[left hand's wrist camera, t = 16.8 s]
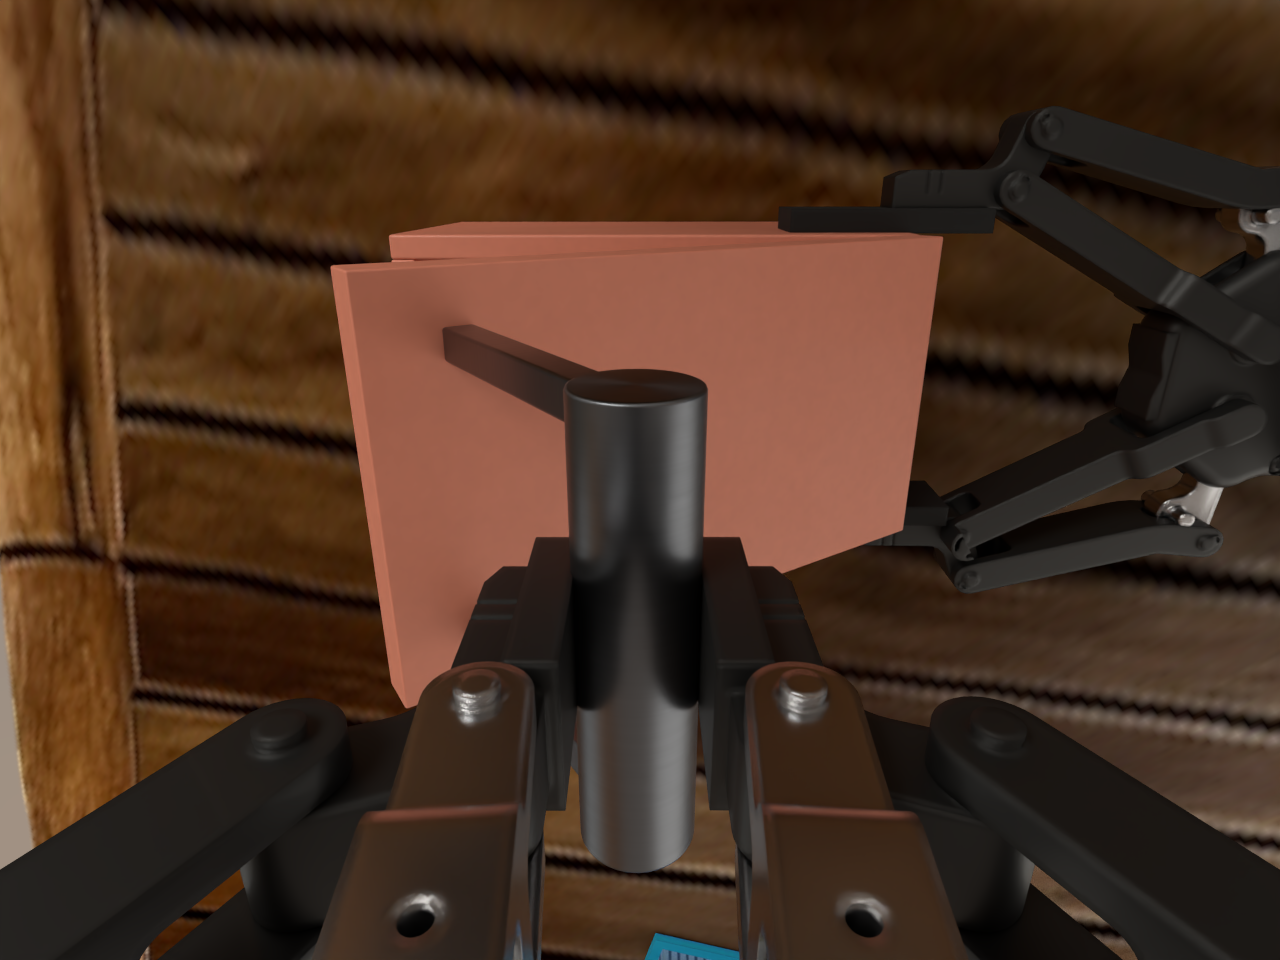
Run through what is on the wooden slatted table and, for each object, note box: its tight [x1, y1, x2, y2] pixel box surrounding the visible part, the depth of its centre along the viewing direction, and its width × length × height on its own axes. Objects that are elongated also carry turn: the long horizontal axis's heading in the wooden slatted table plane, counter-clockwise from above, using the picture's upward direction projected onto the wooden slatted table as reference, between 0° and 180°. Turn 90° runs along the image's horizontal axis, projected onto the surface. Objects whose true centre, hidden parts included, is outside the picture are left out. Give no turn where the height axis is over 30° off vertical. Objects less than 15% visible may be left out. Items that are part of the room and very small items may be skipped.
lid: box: [331, 235, 943, 873], centre depth 17 cm, size 17×10×9 cm
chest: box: [389, 222, 918, 262], centre depth 30 cm, size 17×10×9 cm, turn 90°
